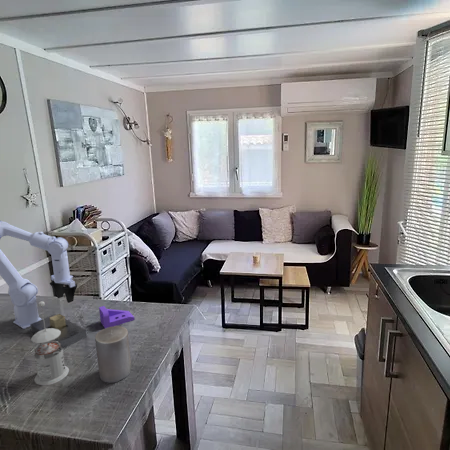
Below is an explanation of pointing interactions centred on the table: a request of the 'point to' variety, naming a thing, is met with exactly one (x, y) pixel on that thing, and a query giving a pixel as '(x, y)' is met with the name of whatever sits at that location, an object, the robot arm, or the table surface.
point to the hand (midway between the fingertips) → (65, 299)
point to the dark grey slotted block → (62, 331)
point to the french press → (48, 355)
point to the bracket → (114, 317)
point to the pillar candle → (113, 354)
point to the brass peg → (57, 322)
